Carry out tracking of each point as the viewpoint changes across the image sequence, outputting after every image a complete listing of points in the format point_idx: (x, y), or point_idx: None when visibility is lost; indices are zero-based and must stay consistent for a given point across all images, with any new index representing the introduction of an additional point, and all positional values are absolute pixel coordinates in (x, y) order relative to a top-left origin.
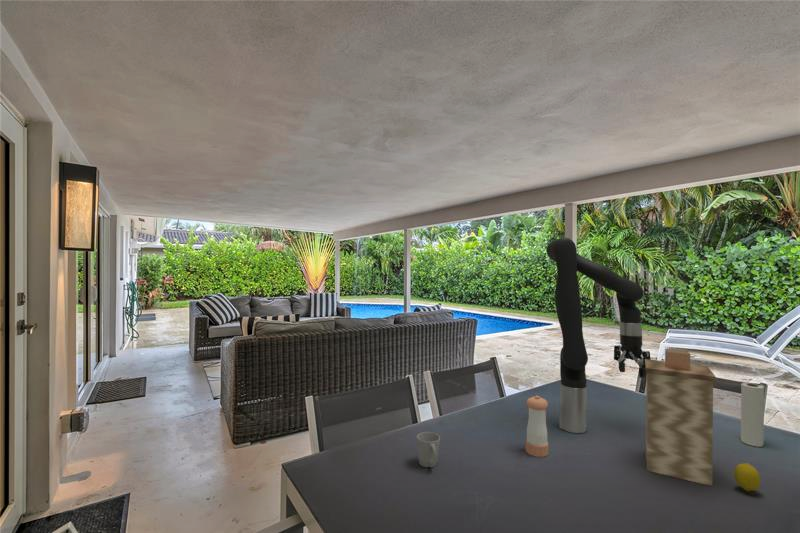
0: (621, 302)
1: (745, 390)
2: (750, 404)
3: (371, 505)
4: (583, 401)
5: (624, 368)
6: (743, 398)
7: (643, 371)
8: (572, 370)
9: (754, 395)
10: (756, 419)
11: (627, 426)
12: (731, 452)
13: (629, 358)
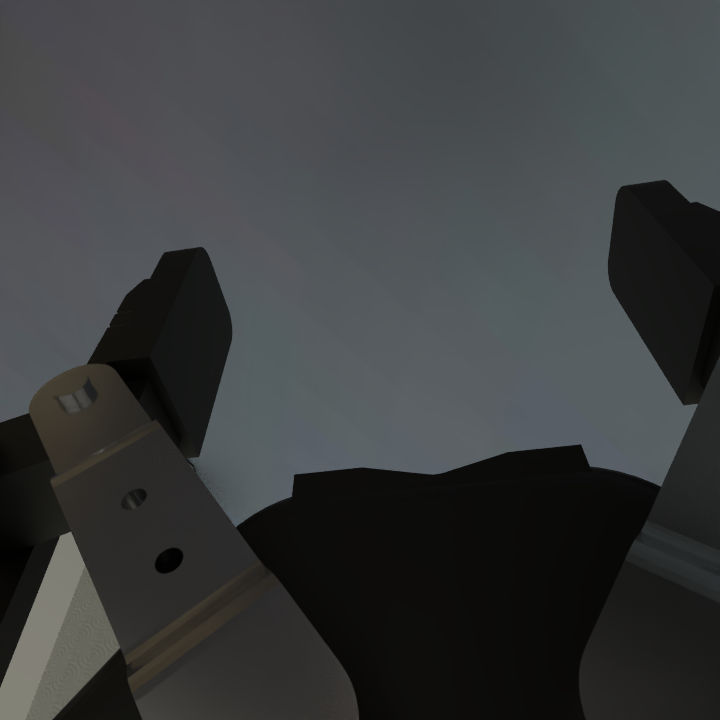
0: None
1: (65, 705)
2: (71, 628)
3: None
4: None
5: (633, 305)
6: (96, 650)
7: (105, 352)
8: None
9: (39, 690)
10: (85, 565)
11: (439, 33)
12: (50, 335)
13: (449, 484)
